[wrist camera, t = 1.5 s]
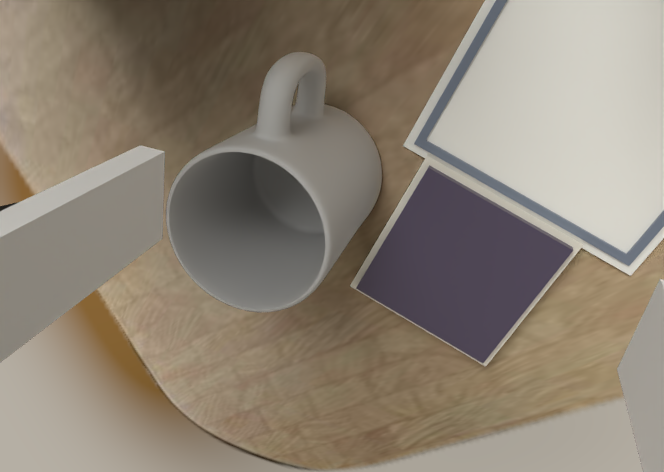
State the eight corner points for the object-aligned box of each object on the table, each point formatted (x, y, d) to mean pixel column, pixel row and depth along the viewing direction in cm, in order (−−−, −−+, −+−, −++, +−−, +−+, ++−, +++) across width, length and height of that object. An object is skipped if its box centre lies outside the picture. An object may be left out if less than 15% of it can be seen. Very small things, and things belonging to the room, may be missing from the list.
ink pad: (354, 278, 39) (347, 289, 38) (429, 150, 34) (425, 158, 33) (486, 356, 38) (485, 371, 37) (581, 237, 34) (584, 248, 32)
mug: (370, 247, 38) (319, 335, 28) (249, 215, 40) (161, 289, 30) (406, 56, 33) (358, 84, 23) (265, 29, 35) (165, 46, 25)
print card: (403, 145, 35) (402, 146, 34) (555, -125, 28) (555, -126, 28) (630, 274, 34) (631, 277, 34) (846, 28, 27) (850, 29, 27)
